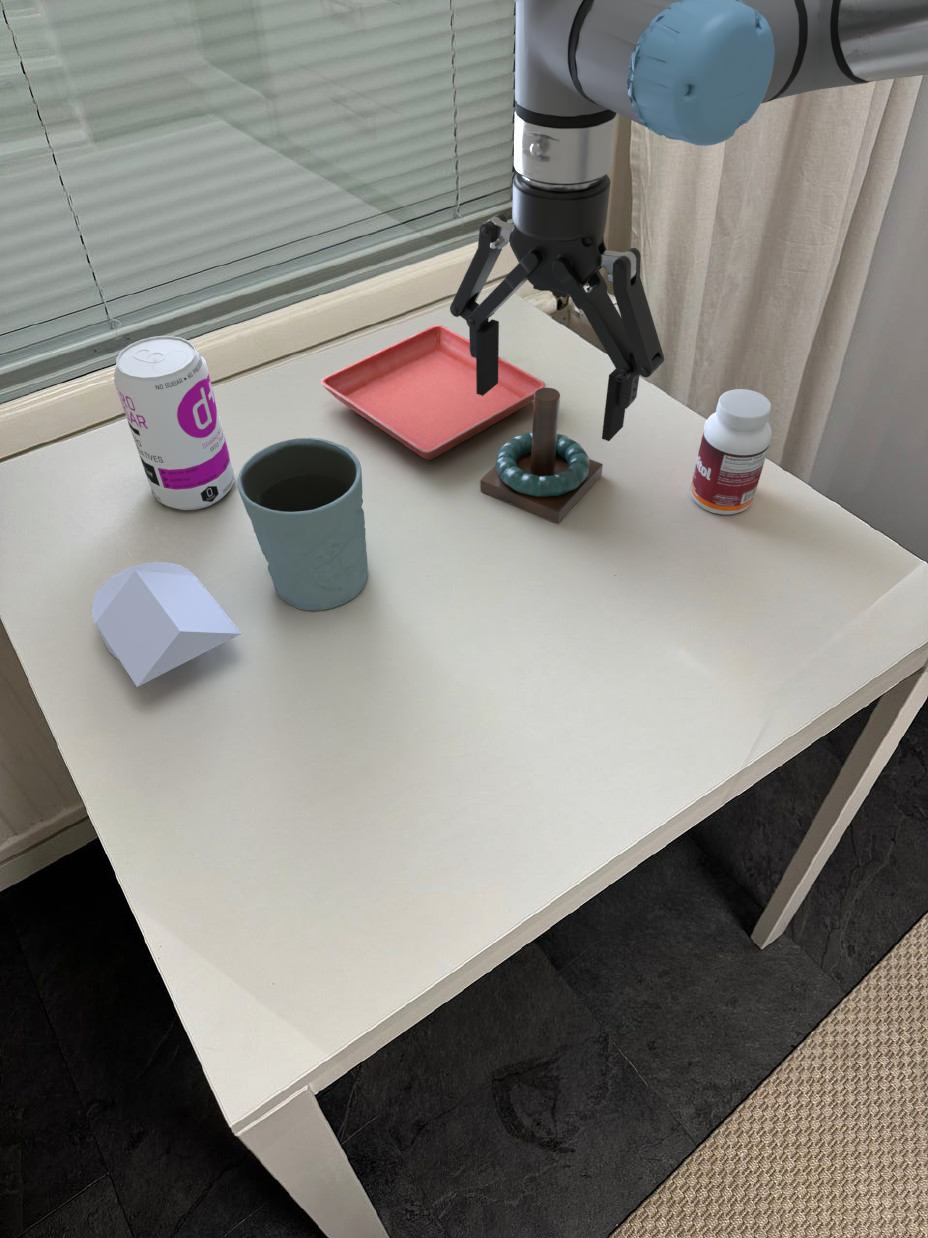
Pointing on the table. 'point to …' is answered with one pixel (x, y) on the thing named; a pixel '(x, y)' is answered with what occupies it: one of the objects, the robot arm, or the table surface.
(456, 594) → the table surface
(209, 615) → the wedge on round base
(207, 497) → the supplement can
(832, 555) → the table surface
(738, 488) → the pill bottle
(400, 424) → the plant saucer
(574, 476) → the teal beaded ring
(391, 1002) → the table surface
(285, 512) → the blue-grey embossed cup
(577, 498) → the stand
